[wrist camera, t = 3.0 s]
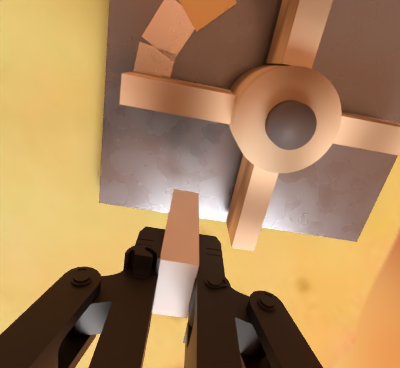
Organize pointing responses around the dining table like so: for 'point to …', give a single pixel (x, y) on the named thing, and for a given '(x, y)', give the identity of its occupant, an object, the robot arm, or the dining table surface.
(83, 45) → the dining table surface
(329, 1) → the capstan
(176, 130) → the stand
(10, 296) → the dining table surface
